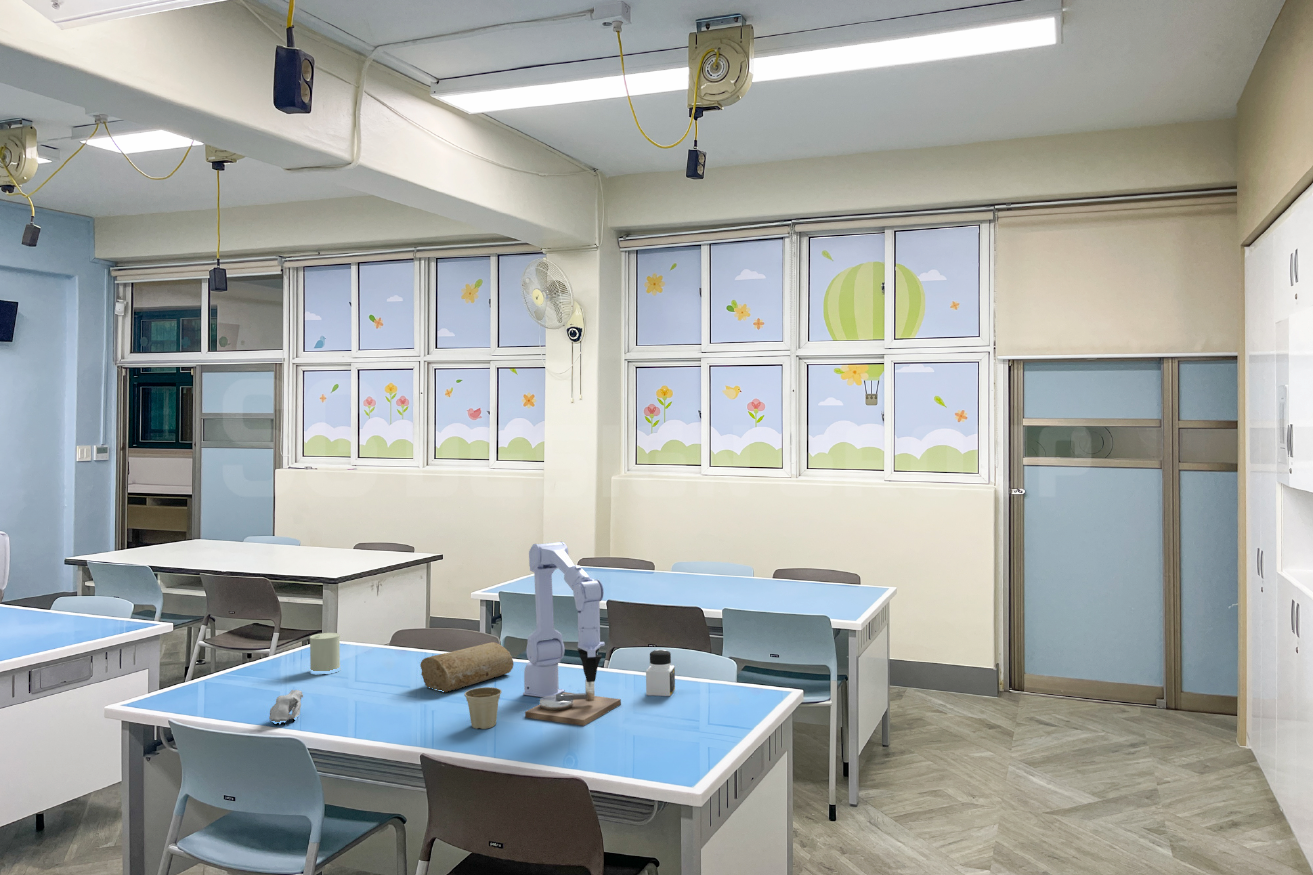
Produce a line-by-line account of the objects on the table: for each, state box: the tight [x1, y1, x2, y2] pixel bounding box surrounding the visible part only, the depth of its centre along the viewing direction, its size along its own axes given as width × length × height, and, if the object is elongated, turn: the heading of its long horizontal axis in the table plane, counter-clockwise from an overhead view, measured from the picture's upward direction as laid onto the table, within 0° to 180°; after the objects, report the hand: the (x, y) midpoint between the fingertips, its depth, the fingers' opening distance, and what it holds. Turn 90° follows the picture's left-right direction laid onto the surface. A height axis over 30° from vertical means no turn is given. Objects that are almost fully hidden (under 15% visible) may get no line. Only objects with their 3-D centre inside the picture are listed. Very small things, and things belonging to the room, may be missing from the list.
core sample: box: [419, 641, 515, 693], centre depth 278 cm, size 14×26×10 cm, turn 144°
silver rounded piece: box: [539, 679, 596, 710], centre depth 246 cm, size 15×9×6 cm, turn 94°
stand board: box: [524, 691, 622, 727], centre depth 246 cm, size 18×20×2 cm
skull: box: [268, 689, 304, 722], centre depth 242 cm, size 8×9×12 cm
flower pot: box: [463, 687, 502, 730], centre depth 235 cm, size 9×9×9 cm
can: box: [309, 632, 341, 671], centre depth 292 cm, size 9×9×12 cm
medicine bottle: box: [645, 649, 676, 697], centre depth 262 cm, size 7×7×12 cm
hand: (589, 678), depth 240 cm, fingers open, 6 cm apart
